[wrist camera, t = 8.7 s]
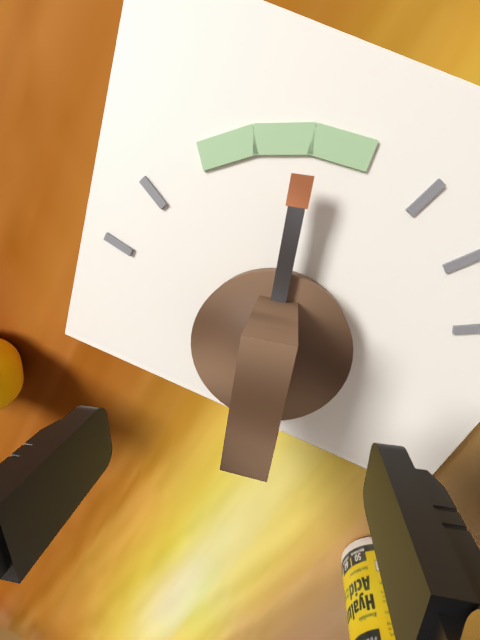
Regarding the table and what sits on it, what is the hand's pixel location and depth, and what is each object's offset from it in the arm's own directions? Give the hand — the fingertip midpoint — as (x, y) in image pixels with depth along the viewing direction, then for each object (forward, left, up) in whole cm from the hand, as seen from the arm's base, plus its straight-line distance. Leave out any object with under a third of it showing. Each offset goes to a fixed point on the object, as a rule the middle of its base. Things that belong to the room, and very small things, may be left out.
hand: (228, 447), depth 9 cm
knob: (+2, 0, -8) cm, 8 cm away
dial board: (+4, -1, -9) cm, 10 cm away
